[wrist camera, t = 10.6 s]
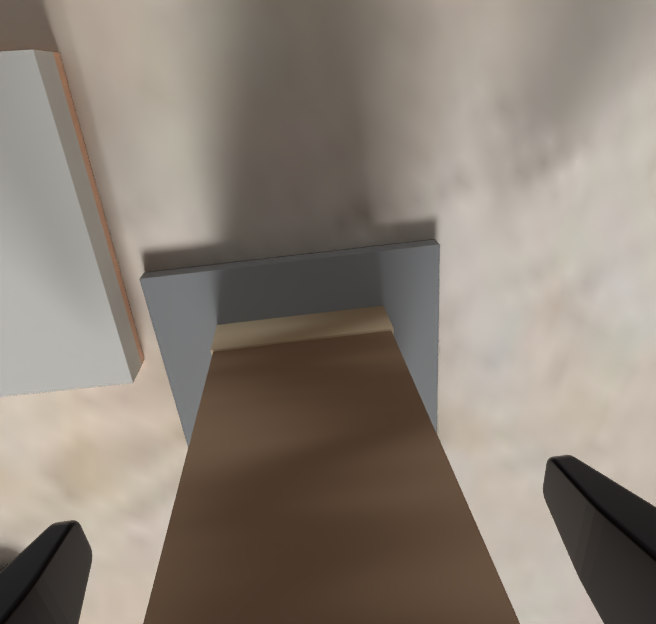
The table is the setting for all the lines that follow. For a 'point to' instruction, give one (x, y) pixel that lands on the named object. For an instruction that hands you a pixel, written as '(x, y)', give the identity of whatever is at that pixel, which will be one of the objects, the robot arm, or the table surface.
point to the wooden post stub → (319, 489)
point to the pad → (295, 307)
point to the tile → (55, 244)
